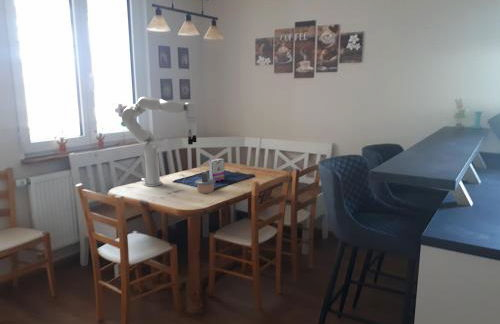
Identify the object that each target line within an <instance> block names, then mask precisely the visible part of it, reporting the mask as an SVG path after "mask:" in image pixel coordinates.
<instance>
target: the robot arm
mask: <svg viewBox="0 0 500 324" xmlns="http://www.w3.org/2000/svg"><path fill="white" fill-rule="evenodd" d="M147 110H149V111H155V112H156V111H158V112H163V113H169V114H170V113H171V114H182V113H185V121H186V136H187V145H193V143H197V121H198V120H197V119H198V117H197V103H196V102H194V101H189V102H184V101H178V102H174V101H168V100H164V99H162V98H158V97H157V98H156V97H149V96H141V97H139V98H138V99H137V102H136V103H134V104H133V105H130V106H127V107H126V108H124V109H123V111H122V114H121V121H122V123H123V124H124V126H125V127H126V128H127V130H128V131H129V133H130V135H132V137H133V138H134V139H135V140H136V141H137V142H138V143H139V144H144V146H143V156H144V164H145V166H144V167H145V178H141V182H144V186H146V187H157V186H161V185H162V184H163V181H161V179H160V177H161V176H160V175H161V174H160V161H159V156H158V152H159V151H160V150H161V143H160V141H158V139H157V138H156V137H155V135H154V134H153V133H152V131H150V130H149V129H148V128H143V127H142V126H141V125H140V124H139V122H138V121H137V120H136V118H137V117H139V116H141V115H142V114H143V113H145V112H146V111H147Z"/></svg>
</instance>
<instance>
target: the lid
mask: <svg viewBox="0 0 500 324" xmlns="http://www.w3.org/2000/svg"><path fill="white" fill-rule="evenodd" d="M194 183H195V185H197V184H198V185H210V184H214V185H215V184H216V182H215V180H214V179H210V178H209V171H203V172H201V178H200V179H196V180H195V181H194Z"/></svg>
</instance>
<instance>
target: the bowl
mask: <svg viewBox="0 0 500 324" xmlns="http://www.w3.org/2000/svg"><path fill="white" fill-rule="evenodd" d="M196 188H197V192H198V193H200V194H208V193H212V192H214V190H215V183H214V184H210V185H198V184H196Z"/></svg>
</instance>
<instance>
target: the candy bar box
mask: <svg viewBox="0 0 500 324" xmlns="http://www.w3.org/2000/svg"><path fill="white" fill-rule="evenodd" d="M208 170H209V171H208V177H209V179H214V180H215V183H217V182H216V181H218V182H222V181H221V180H223V181H226V174H225V173H226V172H225V159H224V158H216V159H215V158H214V159H209V160H208Z"/></svg>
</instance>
